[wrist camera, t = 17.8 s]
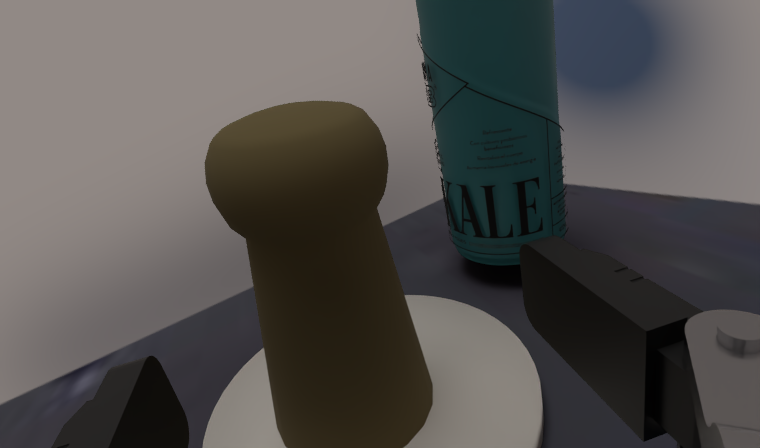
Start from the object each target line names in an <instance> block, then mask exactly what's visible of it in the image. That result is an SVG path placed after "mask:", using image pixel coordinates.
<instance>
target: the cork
mask: <svg viewBox="0 0 760 448" xmlns="http://www.w3.org/2000/svg"><path fill="white" fill-rule="evenodd" d="M387 173H388V158H387V151H386V145H385V142H384V140H383V138H382V135H381V133H380V130H379V128H378V127H377V125H376V124H375V123H374V122H373V121H372V119H371V118H370V117H369V116H368V115H367V113H366V112H365V111H364V110H363V109H361V108H359V107H356V106H354V105H352V104H349V103H344V102H332V101H308V102H295V103H288V104H283V105H278V106H274V107H271V108H267V109H264V110H261V111H259V112H255V113H253V114H250V115H248V116H245V117H243V118H241V119H239V120H237V121H235V122H233V123H230V124H229V125H227V126H226V127H224V128H223V129H221V131H219V133H218V134H216V136H215V137H214V138H213V139H212V141H211V143H210V145H209V149H208V153H207V156H206V160H205V175H206V184H207V187H208V190H209V192H210V195H211V198H212V201H213V203H214V204H215V206H216V207H217V209H218V210H219V212H220V213H221V215H222V216H223V218H224V219H225V221H226V222H227V224H228V225H229V227H230V228H231V229H232V230H234V231H235V232H237V233H238V234H240V235H241V236H243V237H244V238H246V242H247V248H248V254H249V260H250V267H251V273H252V279H253V284H254V291H255V297H256V303H257V309H258V316H259V322H260V328H261V334H262V340H263V346H264V352H265V358H266V364H267V370H268V376H269V383H270V389H271V395H272V401H273V407H274V413H275V419H276V425H277V429H278V431H279V433H280V436H281V438H282V440H283V442H284V445H285V446H286V447H287V448H403V447H405V446H406V445H408V443H409V442H410V441H411V440H412V439H413V438H414V436H415V435H416V434H417V433H418V432H419V431H420V430H421V428H422V427H423V426H424V424H425V422H426V419H427V417H428V415H429V412H430V410H431V407H432V405H433V384H432V381H431V377H430V374H429V371H428V368H427V365H426V362H425V359H424V355H423V352H422V349H421V346H420V343H419V340H418V336H417V333H416V330H415V327H414V324H413V321H412V318H411V314H410V311H409V308H408V305H407V302H406V299H405V295H404V292H403V289H402V286H401V283H400V280H399V277H398V273H397V270H396V267H395V264H394V261H393V258H392V254H391V251H390V248H389V245H388V242H387V239H386V236H385V232H384V229H383V226H382V223H381V220H380V217H379V213H378V210H377V206H378V205H379V203H380V201H381V199H382V197H383V195H384V192H385V188H386V183H387Z"/></svg>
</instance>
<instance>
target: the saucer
mask: <svg viewBox="0 0 760 448" xmlns="http://www.w3.org/2000/svg"><path fill="white" fill-rule="evenodd" d="M405 299H406V302H407V305H408V308H409V311H410V314H411V318H412V321H413V324H414V327H415V330H416V333H417V336H418V340H419V343H420V346H421V349H422V352H423V355H424V359H425V362H426V365H427V368H428V371H429V374H430V377H431V381H432V384H433V405H432V407H431V410H430V412H429V415H428V417H427V419H426V422H425V424H424V426H423V427H422V428H421V430H420V431H419V432H418V433H417V434H416V435H415V436H414V438H413V439H412V440H411V441H410V442H409V443H408V445H406V446H405V447H403V448H541V445H542V441H543V427H544V416H543V405H542V395H541V386H540V380H539V376H538V373H537V370H536V367H535V364H534V362H533V360H532V358H531V356H530V354H529V352H528V350H527V349H526V348H525V346H524V345H523V344H522V342H521V341H520V340H519V338H518V337H517V336H516V335H515V334H514V333H513V332H512V331H511V330H510V329H509V328H508V327H506V326H505V325H504V324H502V323H501V322H500V321H498V320H497V319H496V318H494V317H492V316H491V315H489V314H487V313H485V312H483V311H482V310H479V309H477V308H475V307H472V306H470V305H467V304H464V303H461V302H457V301H454V300H450V299H445V298H440V297H432V296H423V295H405ZM203 448H287V447H286V446H285V445H284V442H283V440H282V438H281V436H280V433H279V431H278V429H277V425H276V419H275V413H274V407H273V401H272V395H271V389H270V383H269V376H268V370H267V364H266V358H265V352H264V348H263V349H262V350H260V351H259V352H258V353H257V354H256V355H255V356H254V357H253V358H252V359H251V360H249V361H248V362H247V363H246V364H245V365H244V367H243V368H242V369H241V370H240V371H239V372H238V373H237V375H236V376H235V377H234V378H233V379H232V381H231V382H230V384H229V385H228V386H227V388H226V389H225V391H224V392H223V394H222V396H221V397H220V399H219V401H218V403H217V404H216V406H215V408H214V410H213V413H212V415H211V418H210V420H209V423H208V426H207V429H206V433H205V437H204V441H203Z"/></svg>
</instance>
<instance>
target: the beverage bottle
mask: <svg viewBox="0 0 760 448" xmlns="http://www.w3.org/2000/svg"><path fill="white" fill-rule="evenodd" d="M416 5H417V11H418V17H419V24H420V35H421V44H422V47H421V48H423V49H422V50H423V53H424V60H425V62H424V63H425V66H424V63H422V67H423V66H424V67H423V71H424V72H425V73H426V75H427V81H428V85H426V86H428V87H429V90H428V91H429V92H430V94H429V95H430V97H429V99H430V101H429V102H430V103H431V105H432V106H430V105H429V106H430V107H432V110H433V117H434V119H433V121H434V124H435V130H436V136H437V143H438V144H437V145H438V146H437V147H438V149H439V151H438V153H437V156H438V155H440V160H439V161H441V162H440V163H441V172H442V174H443V179H442V178H441V177H440V178H441V182H442V189H443V195H444V196H443V198H444V201H445V207H446V213H447V219H448V226H450V225H451V226H450V227H451V228H450V229H451V231H452V234H451V232H450V231H449V233H450V234H451V236H452V237H453V241H452V240H451V241H452V242H453V243H454V244H455V246H456V248H457V250H458V252H459V253H460V254H461V255H462V256H464V257H465V258H467V259H469V260H472V261H474V262H478V263H482V264H488V265H516V264H520V257H519V252H520V247H521V246H522V245H523V244H526V243H529V242H532V241H536V240H539V239H542V238H546V237H549V236H552V235H556V236H558V237H560V238H562V239H564V235H565V233H566V232H567V231H566V225H565V216H566V215H567V213H566V215H565V206H566V204H565V205H564V202H565V201H564V197H565V195H566V193H565V194H564V190H565V188H566V186H565V188H564V189H563V172H562V171H563V170H562V167H563V166H562V152H561V145H562V144H561V135H560V128H561V129H562V127H561V126H560V125H559V114H558V95H557V94H558V93H557V73H556V52H555V30H554V9H553V0H416ZM418 38H419V37H418ZM419 40H420V39H419ZM425 69H426V71H425ZM424 72H423V74H424ZM426 75H425V74H424V79H425V78H426ZM429 92H428V93H429ZM433 121H432V125H433ZM562 130H563V129H562ZM435 141H436V139H435ZM435 147H436V146H435ZM437 159H438V158H437ZM443 180H444V185H443ZM444 187H445V191H444ZM566 190H567V189H566ZM445 192H446V197H445ZM567 210H568V209H567ZM567 212H568V211H567ZM448 214H449V216H448ZM449 218H450V220H449ZM567 230H568V229H567ZM565 231H566V232H565ZM450 239H451V238H450Z"/></svg>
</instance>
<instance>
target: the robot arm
mask: <svg viewBox="0 0 760 448" xmlns="http://www.w3.org/2000/svg"><path fill="white" fill-rule="evenodd" d="M519 257H520V267H521V277H522V287H523V297H524V306H525V310H526V313H527V316H528V318H529V320H530V322H531V324H532V326H533V327H534V328H535V330H536V331H537V332H538V333H539V334H540V335H541V336H542V337H543V338H544V339H545V340H546V341H547V342H548V343H549V344H550V345H551V346H552V347H553V349H554V350H555V351H556V352H557V353H558V354H559V355H560V356H561V357H562V358H563V359H564V360H565V361H566V362H567V363H568V364H569V365H570V366H571V367H572V368H573V369H574V370H575V371H576V372H577V373H578V374H579V375H580V376H581V377H582V379H583V380H584V381H585V382H586V383H587V384H588V385H589V386H590V387H591V388H592V389H593V390H594V391H595V392H596V393H597V394H598V395H599V396H600V397H601V398H602V399H603V400H604V401H605V402H606V403H607V404H608V405H609V406H610V408H611V409H612V410H613V411H614V412H615V413H616V414H617V415H618V416H619V417H620V418H621V419H622V420H623V421H624V422H625V423H626V424H627V425H628V426H629V427H630V428H631V429H632V430H633V431H634V432H635V433H636V434H637V435H638V436H639V438H640V439H641V440H642V441H643V442H644V441H647V440H650V439H652V438H655V437H657V436H660V435H663V434H665V433H668V434H669V435H670V436H672V437H673V438H674V439H675V440H676V441H677V448H760V315H757V314H753V313H749V312H743V311H736V310H711V311H706V312H703V311H702V310H700V309H698V308H696V307H695V306H693V305H691V304H690V303H688V302H686V301H685V300H683V299H681V298H679V297H678V296H676V295H674V294H673V293H671V292H669V291H668V290H666V289H664V288H662V287H661V286H659V285H657V284H656V283H654V282H652V281H651V280H649V279H644V278H643V276H642V275H640V274H639V273H637V272H635V271H634V270H632V269H630V270H628V268H627V266H625V265H623V264H622V263H620V262H618V261H617V260H615V259H613V258H611V257H610V256H608V255H604V254H601V253H597V252H593V251H590V250H586V249H582V250H579V249H578V248H576V247H574V246H573V245H571V244H570V243H568V242H566V241H565V240H563V239H562V238H560V237H558V236H556V235H552V236H549V237H546V238H542V239H539V240H536V241H532V242H529V243H526V244H523V245H522V246H521V247H520V252H519ZM188 443H189V428H188V422H187V418H186V415H185V412H184V410H183V408H182V406H181V404H180V402H179V400H178V398H177V396H176V394H175V392H174V390H173V388H172V386H171V384H170V382H169V380H168V378H167V376H166V374H165V372H164V370H163V368H162V366H161V364H160V362H159V361H158V360H157V359H156V358H155V357H154V356H148V357H145V358H142V359H138V360H135V361H132V362H128V363H125V364H122V365H118V366H115V367H112V368H111V369H110V370H109V371H108V372H107V374H106V376H105V378H104V380H103V382H102V384H101V386H100V387H99V389H98V391H97V393H96V395H95V397H94V399H93V400H90V401H87V402H86V403H85V404H84V405H83V406H82V407H81V408H80V409H79V410H78V411H77V412H76V413H75V414H74V415H73V417H72V418H71V419H70V420H69V421H68V422H67V423H66V424H65V425H64V426H63V428H62V430H61V432H60V433H59V435H58V437H57V439H56V440H55V442H54V444H53V446H52V447H51V448H188Z"/></svg>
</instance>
